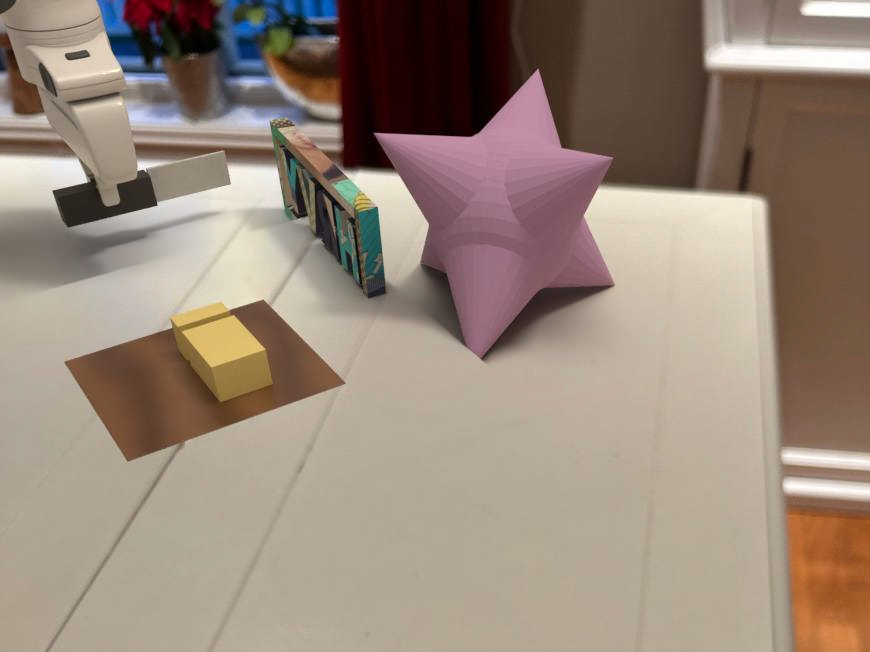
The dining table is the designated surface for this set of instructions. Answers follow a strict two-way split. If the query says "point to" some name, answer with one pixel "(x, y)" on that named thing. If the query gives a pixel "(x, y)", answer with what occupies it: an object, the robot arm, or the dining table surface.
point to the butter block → (227, 358)
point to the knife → (144, 189)
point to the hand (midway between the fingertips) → (105, 197)
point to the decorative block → (329, 205)
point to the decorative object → (503, 211)
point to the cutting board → (192, 384)
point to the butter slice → (196, 321)
